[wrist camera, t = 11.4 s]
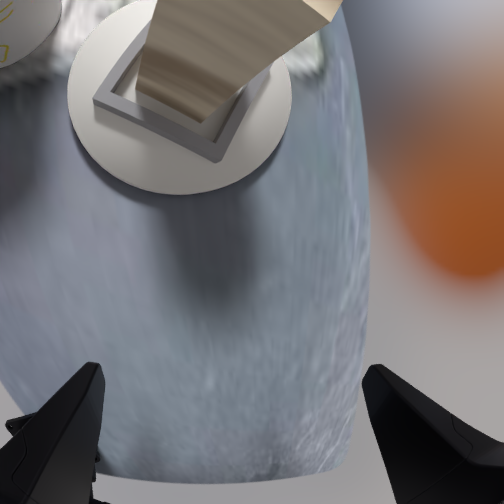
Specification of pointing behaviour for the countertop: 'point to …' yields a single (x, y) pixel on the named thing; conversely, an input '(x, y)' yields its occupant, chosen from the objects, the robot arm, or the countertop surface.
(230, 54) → the birch block
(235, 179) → the locating plate
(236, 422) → the countertop surface
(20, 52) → the cup
